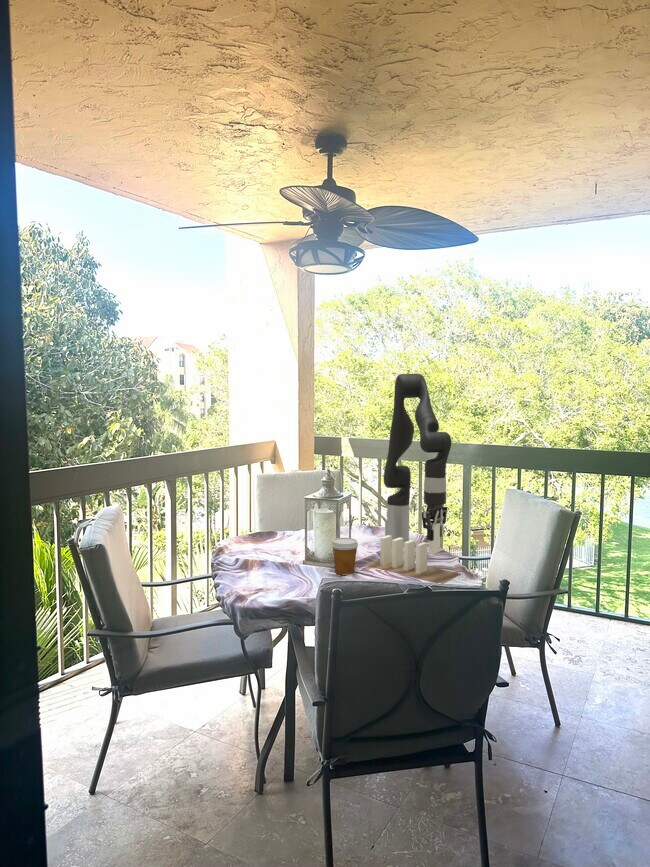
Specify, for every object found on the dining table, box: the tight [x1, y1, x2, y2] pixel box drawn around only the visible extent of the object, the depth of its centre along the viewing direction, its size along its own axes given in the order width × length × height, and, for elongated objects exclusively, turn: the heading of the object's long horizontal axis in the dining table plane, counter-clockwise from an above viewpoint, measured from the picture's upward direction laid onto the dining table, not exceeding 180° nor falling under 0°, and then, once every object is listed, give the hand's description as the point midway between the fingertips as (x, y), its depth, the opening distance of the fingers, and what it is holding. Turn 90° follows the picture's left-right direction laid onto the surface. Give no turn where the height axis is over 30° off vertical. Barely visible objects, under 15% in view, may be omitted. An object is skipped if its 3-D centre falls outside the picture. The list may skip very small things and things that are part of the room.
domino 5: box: [428, 522, 441, 555], centre depth 197 cm, size 2×5×10 cm, turn 140°
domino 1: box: [379, 535, 392, 565], centre depth 210 cm, size 2×5×10 cm, turn 140°
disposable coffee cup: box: [331, 537, 359, 577], centre depth 201 cm, size 10×10×12 cm
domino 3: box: [403, 539, 416, 571], centre depth 204 cm, size 2×5×10 cm, turn 139°
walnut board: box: [364, 558, 462, 585], centre depth 203 cm, size 32×14×1 cm, turn 50°
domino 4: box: [415, 541, 428, 574], centre depth 200 cm, size 2×5×10 cm, turn 140°
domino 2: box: [392, 537, 404, 568], centre depth 207 cm, size 2×5×10 cm, turn 140°
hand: (434, 538), depth 197 cm, fingers closed on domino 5, 5 cm apart
